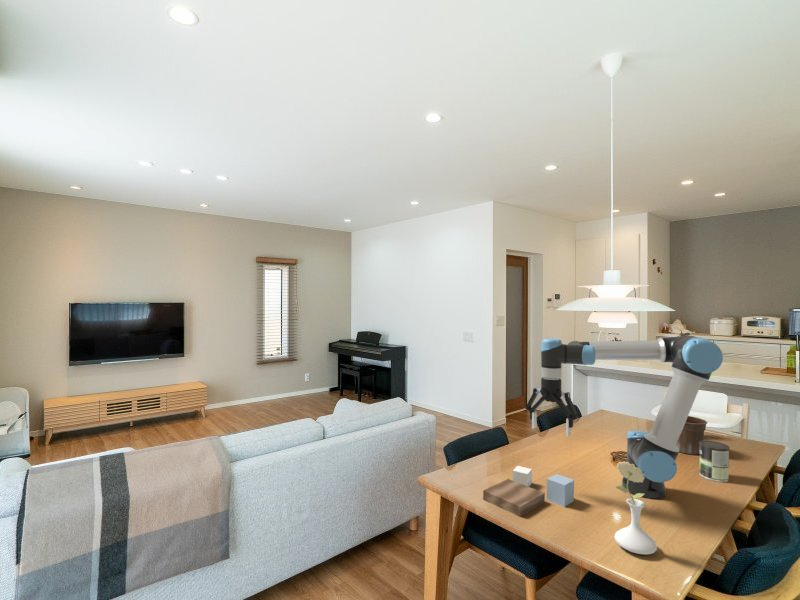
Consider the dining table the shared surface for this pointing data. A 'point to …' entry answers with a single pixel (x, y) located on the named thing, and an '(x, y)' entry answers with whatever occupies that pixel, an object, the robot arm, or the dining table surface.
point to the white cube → (522, 475)
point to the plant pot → (691, 436)
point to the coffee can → (714, 461)
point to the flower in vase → (634, 516)
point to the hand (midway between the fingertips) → (550, 431)
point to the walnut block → (514, 497)
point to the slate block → (560, 490)
